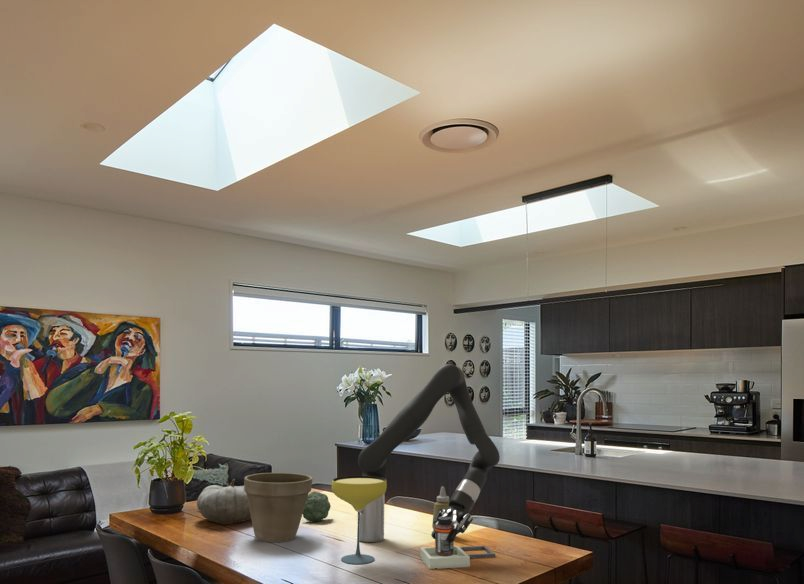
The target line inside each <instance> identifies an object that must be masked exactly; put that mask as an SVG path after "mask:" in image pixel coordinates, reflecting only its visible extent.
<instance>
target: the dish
mask: <svg viewBox="0 0 804 584" xmlns="http://www.w3.org/2000/svg"><path fill="white" fill-rule="evenodd" d="M460 547H461V546H459V545H454V553H453V555H451V556H439V555H437V554H436V553H435V546H431V547H430V546H428V547H424V546H423V547H419V557H420V558H419V559H421V560H422V561H423V563H424V564H425V566H426V567H427V568H428V569H429V570H433V569H434V570H435V568H437V569H453V568H454V569H455V568H470V567H471V558H470V556H468V555H467V554H468V553H467V552H465V550H464V551H463V550H462V549H461V548H460Z"/></svg>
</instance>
